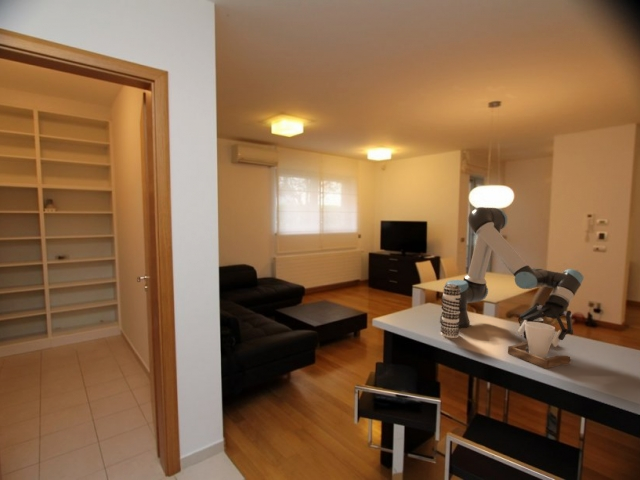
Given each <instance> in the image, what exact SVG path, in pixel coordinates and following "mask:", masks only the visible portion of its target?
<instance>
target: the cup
mask: <svg viewBox="0 0 640 480" xmlns="http://www.w3.org/2000/svg"><path fill="white" fill-rule="evenodd" d="M525 331H526V338H527V339H526V338H525V339H526V342H527V346H528V347H527V348H528V353H531V354H533V355H536V356H539V357H541V358H544V359H547V358H548V353H549V350H550V347H551V346H552V341H553V339H554V337H555V335H556V327H555V326H553V325H551V324H549V323H548V324H547V323H544V322H543V323H540V322H526V323H525Z"/></svg>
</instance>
